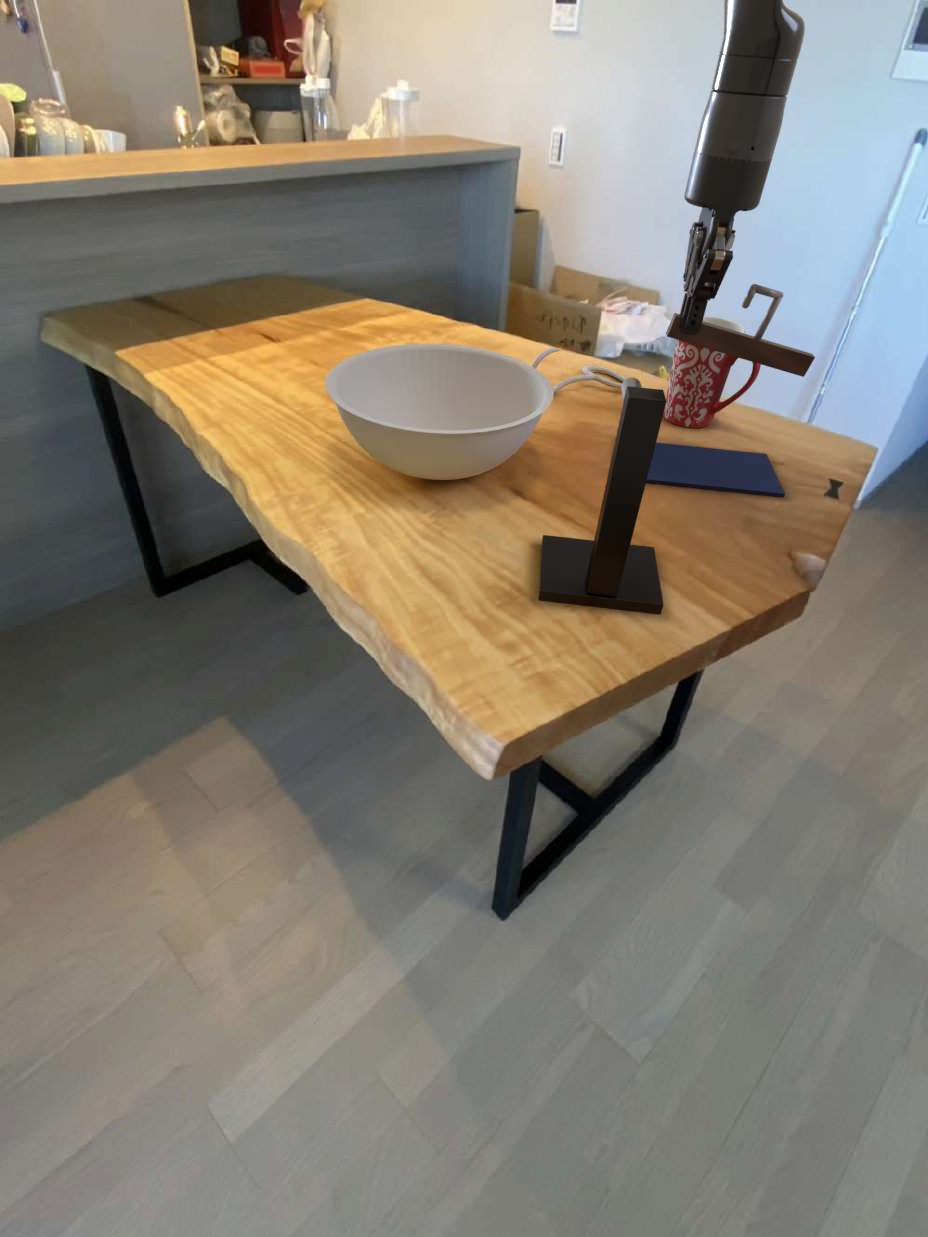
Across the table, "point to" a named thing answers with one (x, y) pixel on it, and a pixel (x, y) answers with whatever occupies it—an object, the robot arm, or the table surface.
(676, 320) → the hanger
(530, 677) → the table surface
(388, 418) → the bowl
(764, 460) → the mat
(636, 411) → the coat stand
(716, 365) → the mug
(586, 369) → the hook
